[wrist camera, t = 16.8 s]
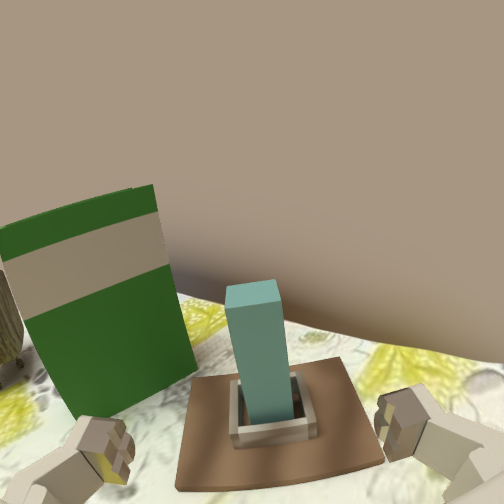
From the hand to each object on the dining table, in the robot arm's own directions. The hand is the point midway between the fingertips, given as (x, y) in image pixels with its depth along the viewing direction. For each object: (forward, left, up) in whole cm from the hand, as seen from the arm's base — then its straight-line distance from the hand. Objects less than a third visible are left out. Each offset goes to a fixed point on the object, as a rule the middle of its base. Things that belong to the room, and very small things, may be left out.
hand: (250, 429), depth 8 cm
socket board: (0, +15, -17) cm, 23 cm away
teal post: (0, +15, -16) cm, 22 cm away
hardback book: (-18, +23, -17) cm, 34 cm away
